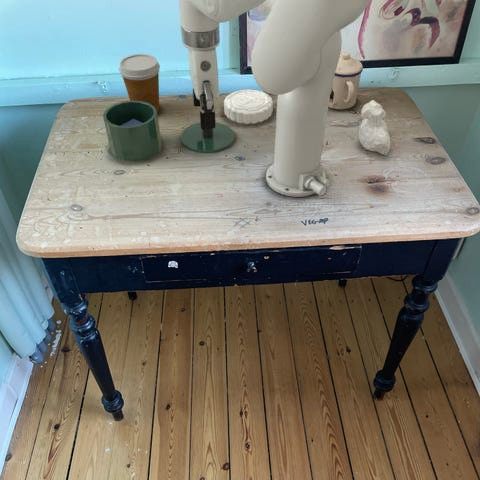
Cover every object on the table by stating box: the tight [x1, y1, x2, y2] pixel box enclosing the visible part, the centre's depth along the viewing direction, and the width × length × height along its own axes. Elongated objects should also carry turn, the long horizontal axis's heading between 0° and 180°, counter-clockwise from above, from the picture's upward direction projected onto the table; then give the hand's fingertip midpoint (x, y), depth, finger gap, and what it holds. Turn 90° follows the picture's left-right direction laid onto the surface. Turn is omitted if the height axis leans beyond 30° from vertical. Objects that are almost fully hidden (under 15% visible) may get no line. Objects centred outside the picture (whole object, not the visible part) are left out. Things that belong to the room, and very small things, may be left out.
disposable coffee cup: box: [118, 53, 161, 113], centre depth 118 cm, size 10×10×12 cm
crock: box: [102, 100, 163, 163], centre depth 109 cm, size 11×11×8 cm
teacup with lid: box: [328, 51, 364, 110], centre depth 120 cm, size 12×9×12 cm
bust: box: [358, 99, 391, 156], centre depth 108 cm, size 12×8×11 cm
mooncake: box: [223, 88, 274, 125], centre depth 120 cm, size 12×12×4 cm
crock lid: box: [180, 121, 236, 154], centre depth 112 cm, size 12×12×7 cm
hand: (204, 116), depth 110 cm, fingers open, 9 cm apart
